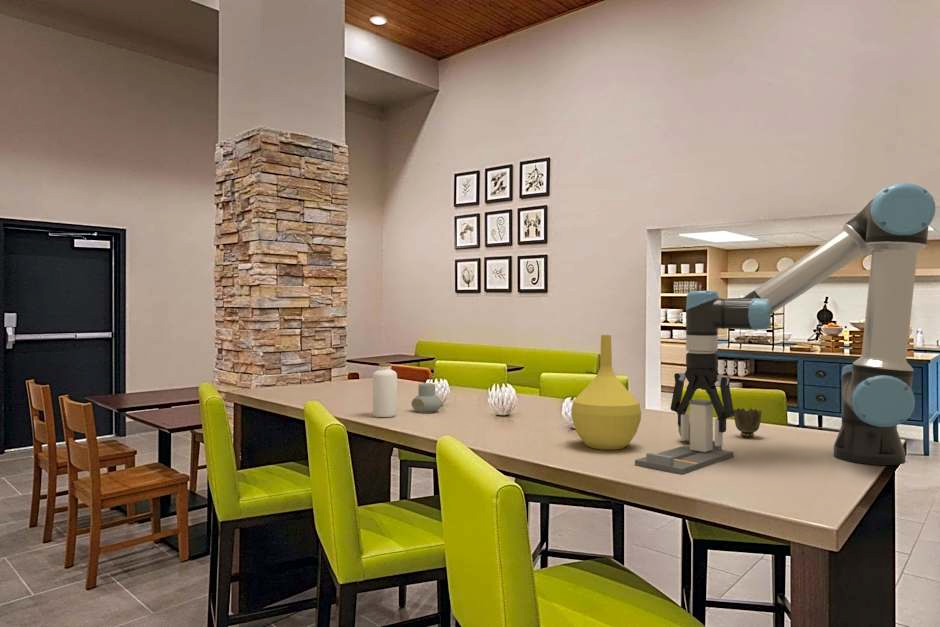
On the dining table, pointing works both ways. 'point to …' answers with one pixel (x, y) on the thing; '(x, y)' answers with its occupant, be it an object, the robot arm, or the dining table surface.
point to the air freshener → (426, 399)
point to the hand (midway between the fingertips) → (701, 442)
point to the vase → (606, 408)
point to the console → (683, 459)
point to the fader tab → (701, 425)
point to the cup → (747, 421)
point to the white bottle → (384, 391)
